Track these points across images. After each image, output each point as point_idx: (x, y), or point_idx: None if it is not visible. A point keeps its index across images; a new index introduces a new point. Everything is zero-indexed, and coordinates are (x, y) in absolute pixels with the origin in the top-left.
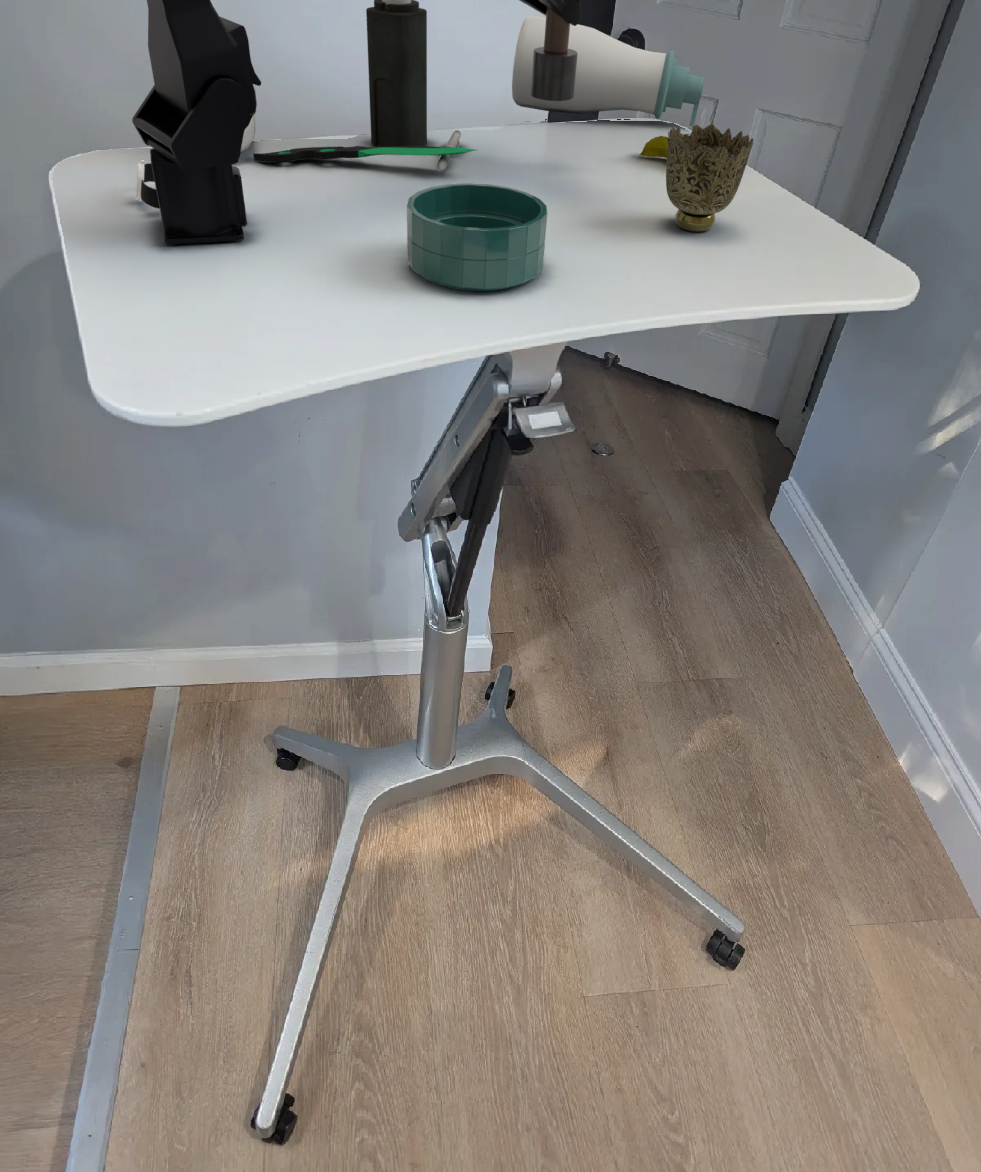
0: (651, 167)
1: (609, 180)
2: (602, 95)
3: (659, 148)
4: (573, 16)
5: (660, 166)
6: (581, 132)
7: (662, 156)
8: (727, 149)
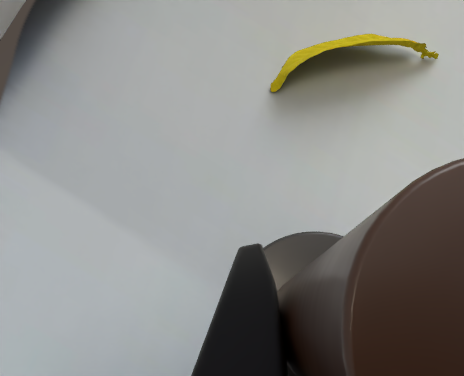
0: (338, 105)
1: None
2: (14, 7)
3: (303, 57)
4: None
5: (337, 85)
6: (77, 108)
7: (294, 53)
8: None
